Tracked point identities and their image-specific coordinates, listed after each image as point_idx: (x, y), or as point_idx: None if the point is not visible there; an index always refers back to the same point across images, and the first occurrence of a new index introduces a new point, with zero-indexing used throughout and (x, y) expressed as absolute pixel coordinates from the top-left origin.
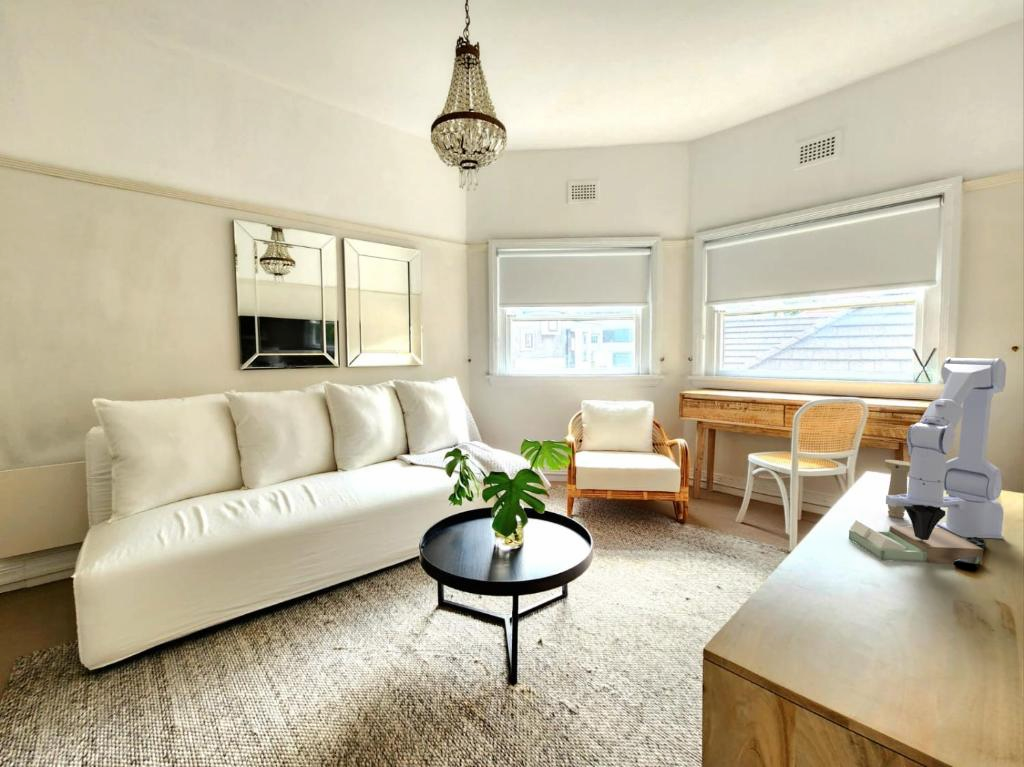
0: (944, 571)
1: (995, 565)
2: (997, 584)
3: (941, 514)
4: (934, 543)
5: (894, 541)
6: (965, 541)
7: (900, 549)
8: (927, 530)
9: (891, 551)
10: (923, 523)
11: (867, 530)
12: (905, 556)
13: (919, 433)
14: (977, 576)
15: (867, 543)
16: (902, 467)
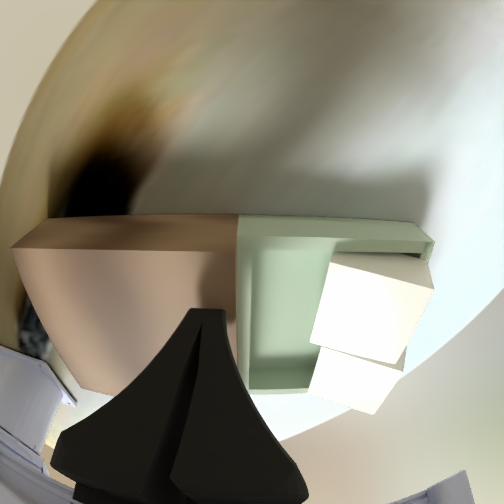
0: (221, 130)
1: (21, 220)
2: (93, 54)
3: (86, 453)
4: (163, 291)
5: (360, 300)
6: (40, 308)
7: (351, 256)
8: (192, 351)
9: (400, 239)
10: (236, 393)
11: (403, 361)
12: (334, 227)
13: None
14: (113, 107)
15: None
16: None
